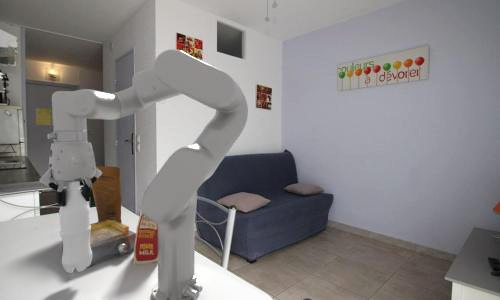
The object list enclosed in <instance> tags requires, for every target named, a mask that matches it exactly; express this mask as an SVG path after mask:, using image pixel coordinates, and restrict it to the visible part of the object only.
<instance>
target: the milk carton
mask: <svg viewBox="0 0 500 300" xmlns="http://www.w3.org/2000/svg"><path fill="white" fill-rule="evenodd" d="M141 202H142V199H141ZM140 210H141V211H140V215H139V219H138V222H137V226H136V232H135V233H136V238H135V245H134V250H133V265H139V264H149V263H158V223H154V222H152V221H150V220H148V219H147V218H146V217H145V215H144V213H143V211H142V208H141V209H140Z"/></svg>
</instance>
